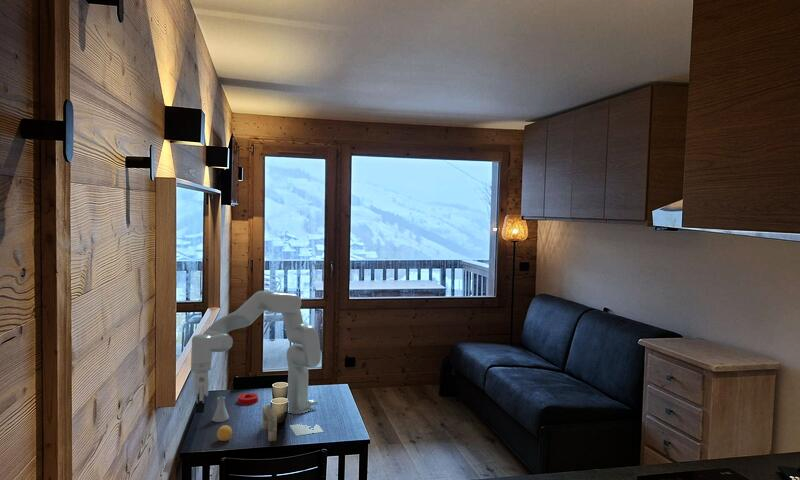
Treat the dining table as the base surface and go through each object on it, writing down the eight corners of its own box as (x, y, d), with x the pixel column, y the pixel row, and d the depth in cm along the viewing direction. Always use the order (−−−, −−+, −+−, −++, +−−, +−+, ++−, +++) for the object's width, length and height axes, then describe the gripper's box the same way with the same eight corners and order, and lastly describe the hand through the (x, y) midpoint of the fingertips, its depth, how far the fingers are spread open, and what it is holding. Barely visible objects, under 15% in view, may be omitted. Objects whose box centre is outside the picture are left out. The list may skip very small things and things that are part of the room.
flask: (223, 423, 230) (224, 401, 229) (208, 421, 231) (209, 399, 231) (232, 417, 237) (232, 396, 236) (217, 416, 238) (218, 394, 238)
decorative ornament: (259, 404, 256) (259, 397, 256) (239, 406, 252) (239, 400, 252) (255, 398, 265) (255, 391, 265) (236, 400, 260) (236, 394, 260)
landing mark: (315, 422, 234) (315, 421, 234) (323, 432, 223) (323, 431, 223) (289, 425, 229) (289, 425, 229) (296, 436, 218) (296, 435, 218)
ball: (231, 436, 216) (231, 422, 215) (233, 442, 210) (233, 427, 210) (216, 438, 213) (216, 424, 213) (217, 444, 208) (217, 429, 208)
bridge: (269, 427, 227) (269, 405, 226) (276, 440, 213) (276, 417, 213) (262, 428, 225) (262, 406, 225) (269, 441, 212) (269, 418, 212)
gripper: (212, 370, 201) (211, 417, 201) (209, 361, 214) (207, 405, 214) (192, 371, 197) (190, 419, 198) (189, 362, 211) (188, 407, 211)
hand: (199, 412), depth 206 cm, fingers closed
